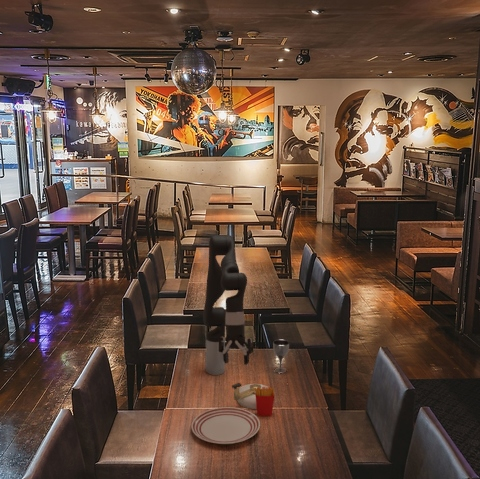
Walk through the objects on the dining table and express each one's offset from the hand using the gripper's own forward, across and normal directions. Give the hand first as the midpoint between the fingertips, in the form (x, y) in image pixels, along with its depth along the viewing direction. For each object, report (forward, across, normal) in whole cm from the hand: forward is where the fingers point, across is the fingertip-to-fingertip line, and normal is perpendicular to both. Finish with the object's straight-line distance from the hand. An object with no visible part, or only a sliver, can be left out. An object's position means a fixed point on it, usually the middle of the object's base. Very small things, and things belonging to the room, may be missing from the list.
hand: (236, 363), depth 213 cm
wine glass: (+17, +4, -62) cm, 64 cm away
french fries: (+25, -4, -19) cm, 31 cm away
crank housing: (+22, +4, -28) cm, 36 cm away
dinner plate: (+27, +5, 0) cm, 28 cm away
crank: (+19, +6, -22) cm, 29 cm away
